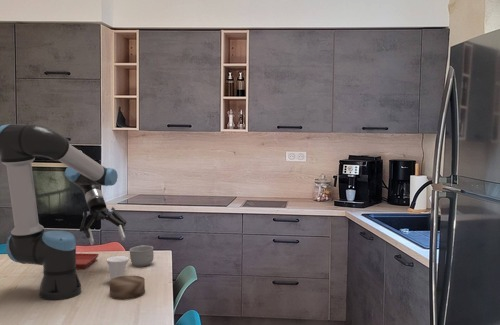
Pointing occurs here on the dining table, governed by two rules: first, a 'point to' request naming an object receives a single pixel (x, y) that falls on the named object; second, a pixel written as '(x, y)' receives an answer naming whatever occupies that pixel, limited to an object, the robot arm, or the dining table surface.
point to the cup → (117, 266)
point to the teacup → (141, 255)
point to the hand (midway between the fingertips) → (108, 241)
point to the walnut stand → (127, 287)
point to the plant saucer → (85, 260)
